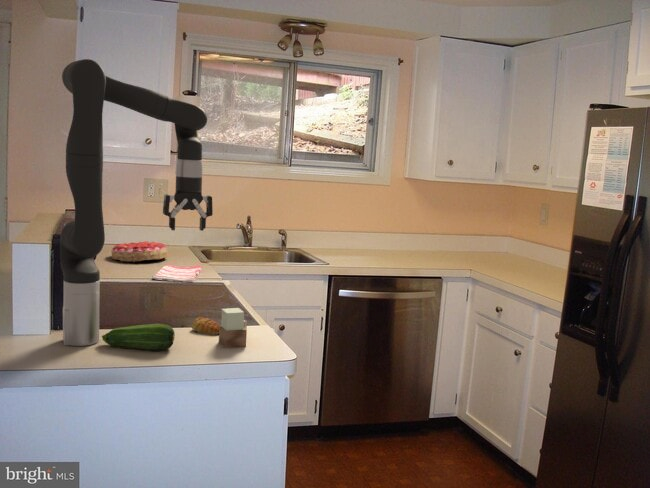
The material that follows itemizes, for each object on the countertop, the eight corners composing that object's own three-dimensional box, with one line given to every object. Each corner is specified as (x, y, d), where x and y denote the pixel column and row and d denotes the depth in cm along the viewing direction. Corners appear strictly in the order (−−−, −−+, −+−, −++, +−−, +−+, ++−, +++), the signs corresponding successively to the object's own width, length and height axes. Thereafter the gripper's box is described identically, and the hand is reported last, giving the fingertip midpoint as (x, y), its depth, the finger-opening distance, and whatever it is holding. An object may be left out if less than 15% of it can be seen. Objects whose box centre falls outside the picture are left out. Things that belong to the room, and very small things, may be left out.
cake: (169, 262, 298) (169, 244, 298) (111, 264, 291) (110, 246, 290) (166, 256, 322) (165, 239, 321) (112, 258, 315) (111, 241, 314)
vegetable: (172, 322, 176) (99, 317, 178) (168, 349, 174) (94, 344, 175) (179, 327, 183) (109, 323, 185) (175, 353, 181) (104, 348, 182)
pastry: (227, 332, 200) (228, 320, 199) (213, 337, 194) (213, 325, 193) (203, 326, 204) (204, 314, 204) (188, 331, 198) (189, 319, 198)
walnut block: (225, 349, 183) (226, 331, 183) (218, 342, 189) (219, 325, 188) (245, 347, 186) (246, 329, 185) (238, 341, 191) (239, 324, 191)
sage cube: (226, 330, 184) (226, 313, 183) (221, 325, 188) (221, 308, 187) (243, 329, 186) (244, 312, 185) (238, 324, 190) (238, 307, 189)
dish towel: (203, 272, 287) (203, 264, 287) (193, 283, 264) (194, 275, 263) (163, 270, 287) (163, 262, 286) (150, 281, 264) (151, 273, 263)
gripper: (167, 175, 187) (165, 232, 189) (216, 177, 193) (214, 232, 196) (161, 173, 194) (160, 228, 196) (209, 175, 200) (207, 228, 202)
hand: (187, 230), depth 196 cm, fingers open, 8 cm apart
